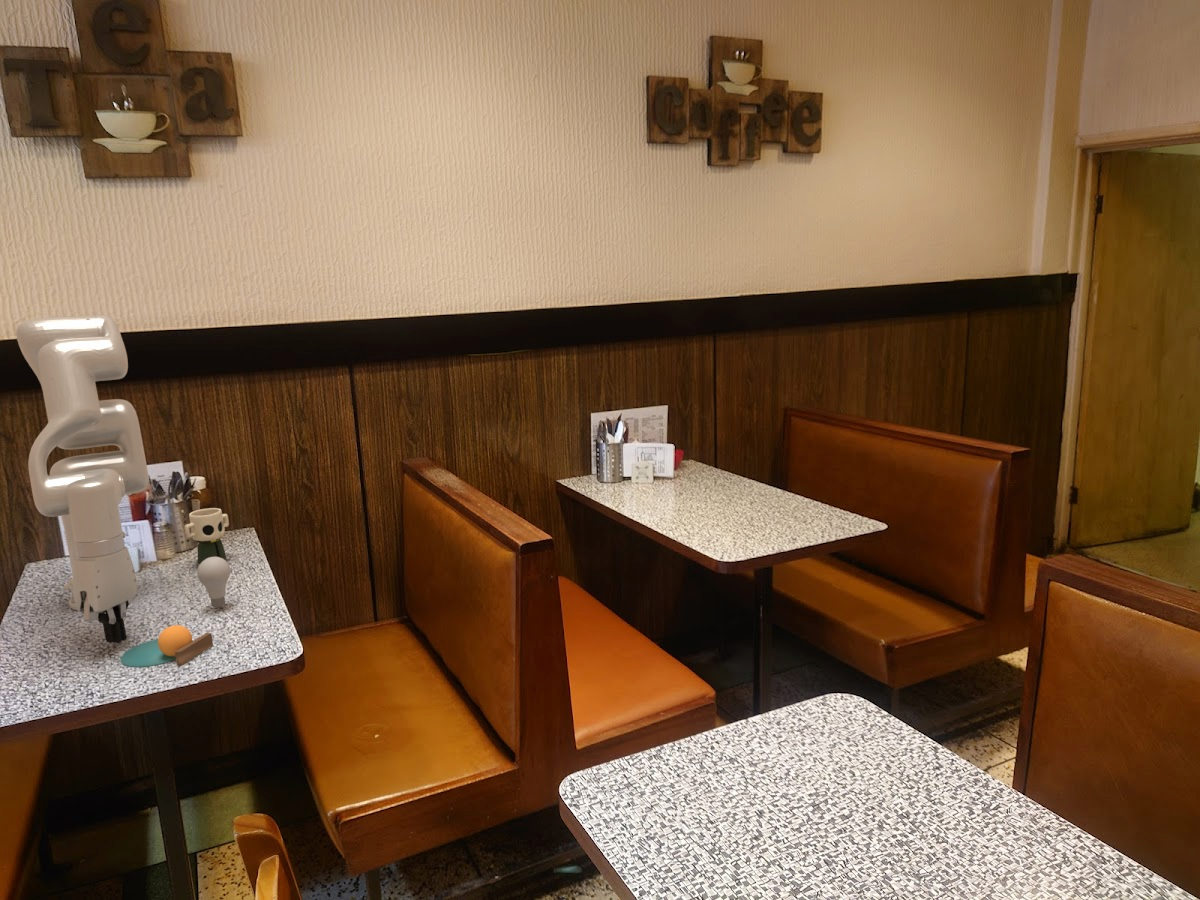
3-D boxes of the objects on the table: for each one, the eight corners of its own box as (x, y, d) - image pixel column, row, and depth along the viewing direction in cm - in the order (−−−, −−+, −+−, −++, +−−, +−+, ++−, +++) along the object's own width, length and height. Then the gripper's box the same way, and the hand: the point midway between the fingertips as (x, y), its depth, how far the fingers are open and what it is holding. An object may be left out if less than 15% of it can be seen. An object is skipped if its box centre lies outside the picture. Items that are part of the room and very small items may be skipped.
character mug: (200, 573, 192) (192, 519, 190) (182, 568, 196) (174, 516, 194) (242, 559, 201) (235, 507, 199) (224, 555, 205) (217, 504, 203)
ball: (159, 665, 147) (145, 637, 147) (182, 652, 153) (168, 625, 152) (181, 656, 146) (167, 628, 145) (204, 643, 151) (190, 616, 150)
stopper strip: (176, 665, 146) (174, 651, 145) (208, 645, 153) (206, 632, 153) (181, 665, 145) (179, 652, 145) (213, 645, 153) (211, 633, 152)
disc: (104, 664, 147) (104, 663, 147) (155, 635, 158) (155, 634, 158) (161, 669, 144) (161, 668, 144) (209, 640, 155) (209, 639, 155)
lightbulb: (226, 613, 168) (219, 562, 166) (197, 614, 168) (189, 563, 166) (240, 602, 174) (233, 552, 172) (211, 603, 174) (204, 553, 172)
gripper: (116, 532, 157) (131, 623, 161) (47, 558, 143) (65, 657, 147) (149, 534, 156) (163, 625, 159) (82, 561, 141) (99, 660, 145)
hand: (116, 640), depth 153 cm, fingers closed
